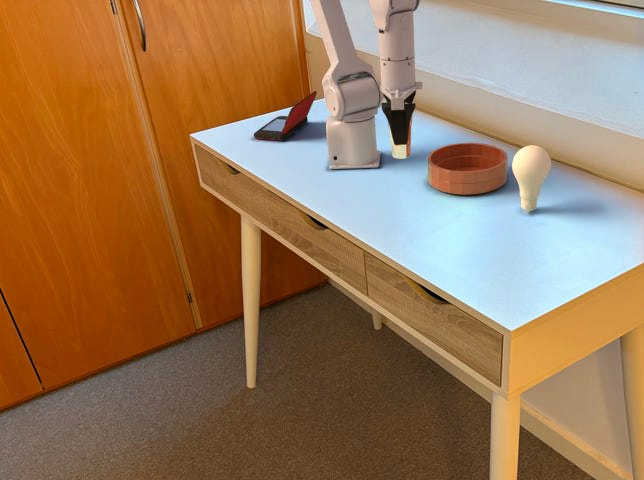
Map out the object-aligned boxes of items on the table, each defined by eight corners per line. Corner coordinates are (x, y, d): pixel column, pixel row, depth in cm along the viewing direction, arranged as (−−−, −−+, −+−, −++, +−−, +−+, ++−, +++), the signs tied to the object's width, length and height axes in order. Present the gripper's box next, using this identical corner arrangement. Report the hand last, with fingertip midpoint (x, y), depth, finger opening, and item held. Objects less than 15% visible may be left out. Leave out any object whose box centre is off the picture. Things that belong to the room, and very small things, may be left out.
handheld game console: (279, 120, 164) (274, 86, 159) (322, 123, 160) (318, 89, 156) (251, 139, 154) (245, 104, 150) (296, 143, 151) (292, 107, 147)
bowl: (428, 198, 126) (427, 173, 123) (427, 167, 137) (427, 144, 134) (510, 195, 125) (511, 170, 122) (502, 164, 136) (503, 141, 134)
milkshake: (415, 149, 129) (413, 92, 123) (413, 160, 125) (411, 101, 119) (390, 149, 130) (387, 92, 124) (387, 160, 126) (383, 102, 120)
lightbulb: (550, 205, 121) (555, 141, 115) (543, 220, 117) (548, 155, 110) (514, 201, 123) (517, 138, 116) (506, 217, 118) (509, 152, 112)
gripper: (421, 67, 112) (423, 153, 120) (421, 44, 123) (423, 123, 131) (376, 69, 112) (381, 154, 120) (380, 46, 123) (385, 125, 132)
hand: (401, 138), depth 126 cm, fingers closed on milkshake, 5 cm apart
